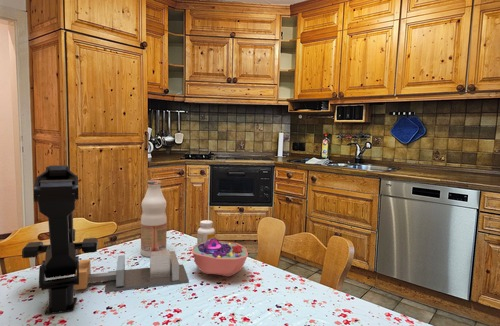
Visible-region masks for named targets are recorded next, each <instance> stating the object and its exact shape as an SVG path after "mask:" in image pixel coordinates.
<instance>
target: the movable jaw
mask: <svg viewBox="0 0 500 326" xmlns="http://www.w3.org/2000/svg"><path fill="white" fill-rule="evenodd" d="M125 257H126V256H125V255H117V260H116V269H115V271H116V272H109V271H107V272H100V273H99V272H98V273H97V272H96V273H91V271H92V270H91V268H92V266H91V259H90V258H89V259H88V258H87V259H79V285H74V290H75V291H76V290H85V289H87V288H88V287H87V286H88V284H89V283H100V282H106V281H109V280H116V287H118V286H124V272H125V270H126V269H125V265H126V264H125ZM73 275H74V276H77V270H76V274H73Z"/></svg>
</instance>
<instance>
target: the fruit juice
mask: <svg viewBox="0 0 500 326" xmlns="http://www.w3.org/2000/svg"><path fill="white" fill-rule="evenodd" d="M146 183H147V190H146V193H145V195H144V198H143V199H142V200H141V205H140V206H141V211H142V212H141V216H140V254H141V256H143V257H145V258H150V252H156V251H167V235H168V234H167V224H168V223H167V222H168V219H167V213H166V208H167V200H166V198H165V197H164V194H163V191H162V188H161V185H162V180H159V179H153V180H152V179H150V180H147V182H146Z"/></svg>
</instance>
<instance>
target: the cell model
mask: <svg viewBox="0 0 500 326" xmlns="http://www.w3.org/2000/svg"><path fill="white" fill-rule="evenodd" d="M191 253H192V255H193V259H194V263H195V265H196V267H197V268H198V269H199V270H200V272H201V273H204V274H207V275H219V276H223V277H231V276H234V275H235V274H237V273H238V272H240V271H241V270H242V269H243V267H244V265H245V264H246V260H247V258H248V256H249V253H248V250H247V247H245V246H244V245H242V244H240V243H237V242H232V241H231V242H230V241H222V240H219V239H218V238H216V237H215V238H211V239H208V240H207V241H206V242H202V243H199V244H195V245H194V246H193V247H192V248H191Z"/></svg>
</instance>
